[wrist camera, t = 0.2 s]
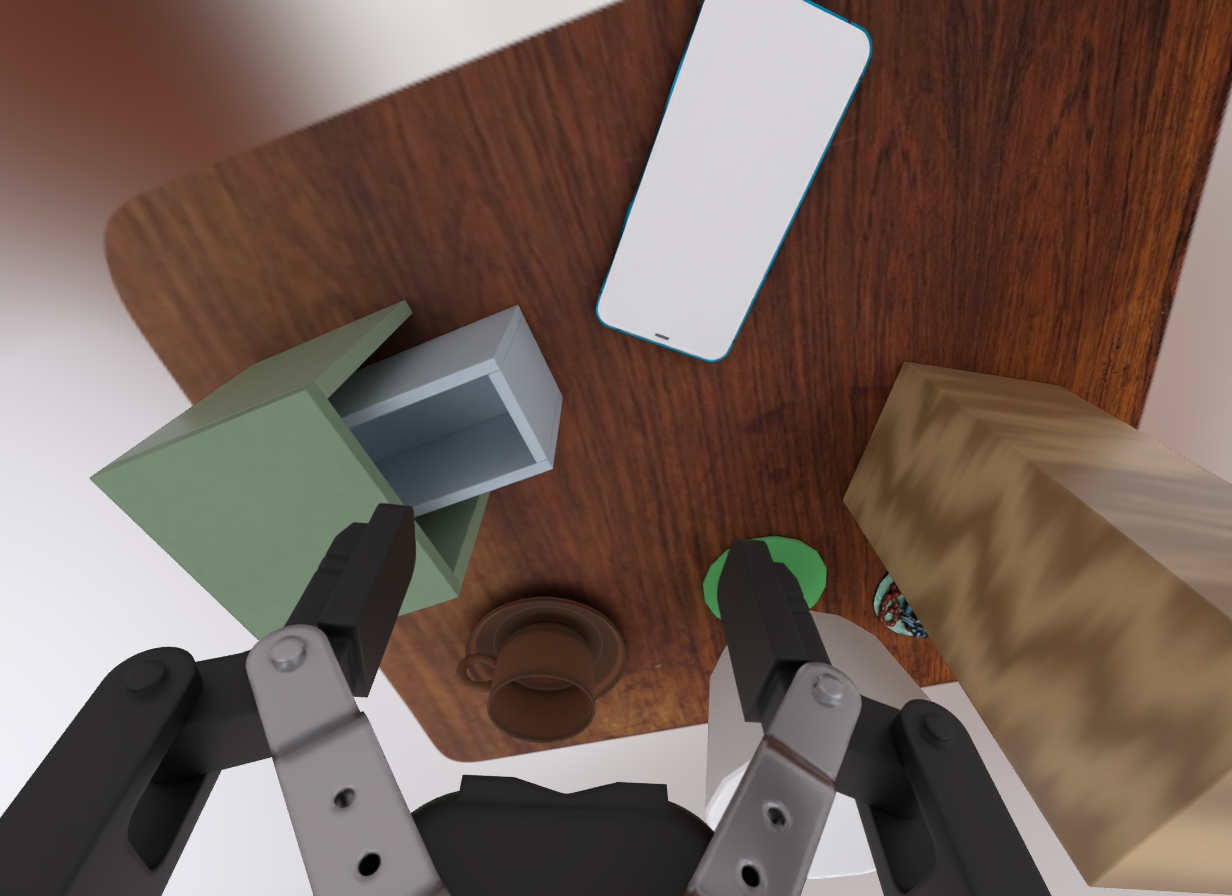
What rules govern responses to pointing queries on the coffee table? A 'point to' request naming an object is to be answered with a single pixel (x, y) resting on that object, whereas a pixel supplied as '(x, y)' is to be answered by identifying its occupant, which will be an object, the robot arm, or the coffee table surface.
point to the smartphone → (729, 168)
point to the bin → (456, 412)
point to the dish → (896, 610)
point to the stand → (1070, 609)
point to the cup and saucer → (543, 666)
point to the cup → (739, 740)
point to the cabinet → (279, 483)
